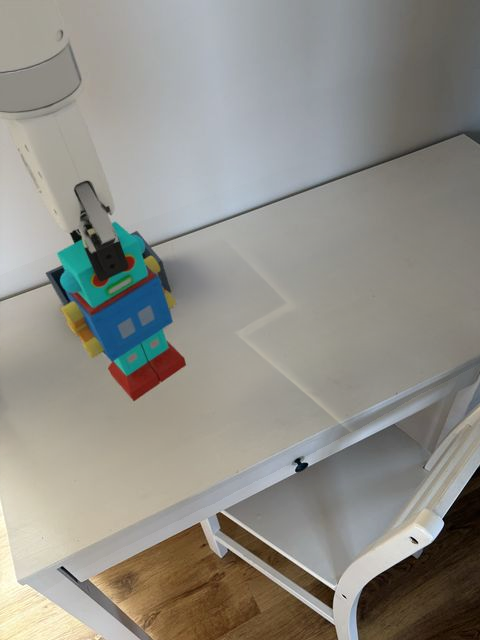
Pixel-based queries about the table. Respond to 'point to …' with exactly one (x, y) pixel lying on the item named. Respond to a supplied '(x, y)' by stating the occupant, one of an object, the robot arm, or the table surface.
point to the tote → (57, 272)
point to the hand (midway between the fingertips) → (101, 255)
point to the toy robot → (122, 314)
